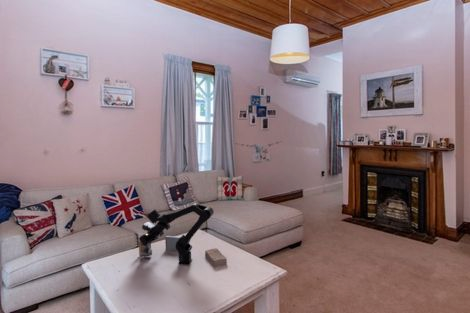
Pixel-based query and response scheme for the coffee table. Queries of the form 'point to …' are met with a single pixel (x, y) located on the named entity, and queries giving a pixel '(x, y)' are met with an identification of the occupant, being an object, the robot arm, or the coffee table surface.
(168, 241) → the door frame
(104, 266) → the coffee table surface
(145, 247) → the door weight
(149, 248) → the door
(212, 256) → the brick
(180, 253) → the robot arm
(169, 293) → the coffee table surface
